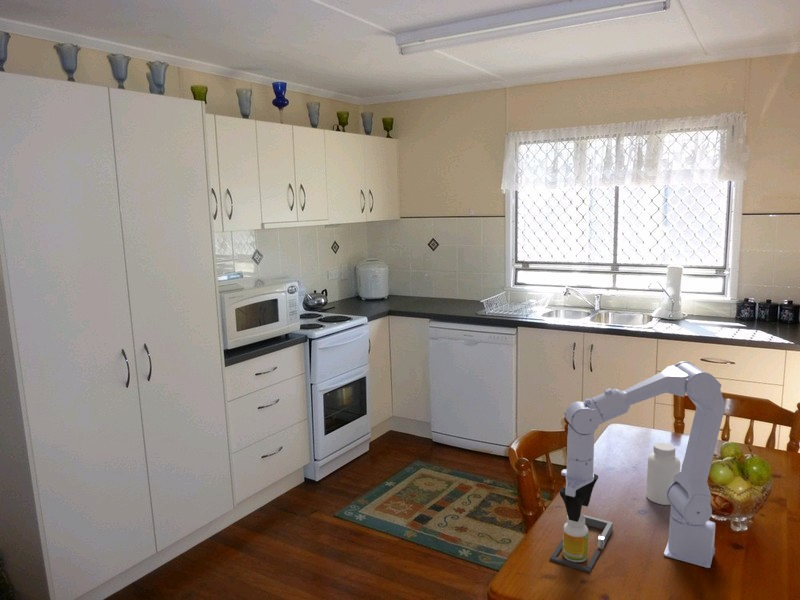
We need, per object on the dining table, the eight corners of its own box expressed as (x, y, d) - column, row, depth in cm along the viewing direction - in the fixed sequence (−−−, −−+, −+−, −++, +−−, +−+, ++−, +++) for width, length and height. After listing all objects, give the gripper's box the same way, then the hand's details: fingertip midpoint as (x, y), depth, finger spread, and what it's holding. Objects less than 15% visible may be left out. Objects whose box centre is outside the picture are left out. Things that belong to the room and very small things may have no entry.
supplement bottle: (588, 564, 134) (589, 524, 133) (562, 561, 136) (564, 521, 134) (586, 551, 140) (587, 512, 138) (562, 548, 141) (563, 509, 139)
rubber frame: (600, 553, 139) (600, 550, 138) (589, 572, 132) (589, 570, 131) (561, 542, 143) (561, 539, 143) (549, 560, 136) (549, 557, 136)
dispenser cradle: (612, 529, 148) (613, 520, 148) (602, 549, 140) (603, 539, 140) (575, 519, 153) (575, 511, 153) (563, 538, 145) (563, 528, 145)
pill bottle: (645, 503, 161) (648, 449, 158) (646, 489, 168) (648, 438, 165) (678, 508, 158) (682, 454, 155) (677, 494, 165) (680, 442, 162)
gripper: (572, 441, 143) (570, 494, 145) (552, 464, 131) (550, 522, 133) (602, 447, 139) (600, 501, 141) (584, 471, 127) (583, 531, 129)
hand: (578, 512), depth 137 cm, fingers open, 7 cm apart
